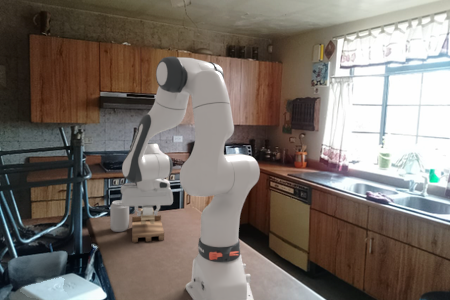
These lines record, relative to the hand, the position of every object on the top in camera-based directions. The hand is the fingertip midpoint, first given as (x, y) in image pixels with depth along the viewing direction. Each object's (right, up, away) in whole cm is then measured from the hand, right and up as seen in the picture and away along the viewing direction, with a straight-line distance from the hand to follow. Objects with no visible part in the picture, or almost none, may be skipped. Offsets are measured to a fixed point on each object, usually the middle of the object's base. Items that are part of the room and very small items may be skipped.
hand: (147, 215), depth 135 cm
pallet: (0, -2, 0) cm, 2 cm away
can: (-13, -7, +4) cm, 15 cm away
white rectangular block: (0, +1, 0) cm, 1 cm away
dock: (0, -8, +1) cm, 8 cm away
